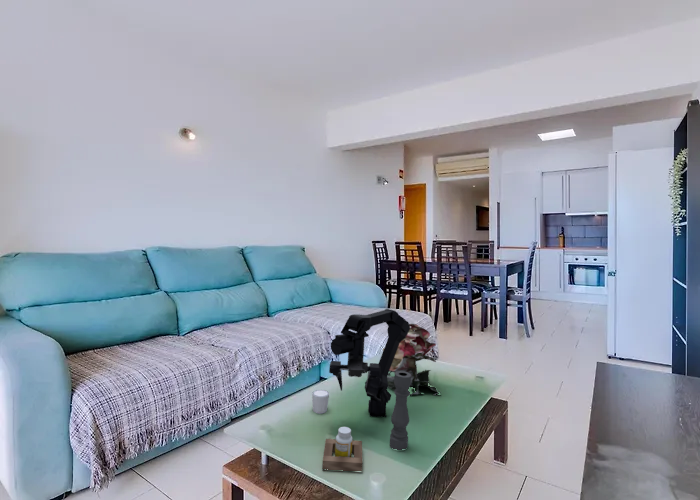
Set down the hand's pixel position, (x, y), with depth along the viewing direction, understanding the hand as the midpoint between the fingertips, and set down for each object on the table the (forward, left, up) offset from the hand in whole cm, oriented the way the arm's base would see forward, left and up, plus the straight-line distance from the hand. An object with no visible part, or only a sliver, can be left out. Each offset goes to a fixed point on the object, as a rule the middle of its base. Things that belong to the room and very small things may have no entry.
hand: (353, 390), depth 142 cm
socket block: (+3, +22, -13) cm, 25 cm away
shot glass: (+13, -10, -13) cm, 21 cm away
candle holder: (-16, +12, -13) cm, 24 cm away
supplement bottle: (+3, +21, -13) cm, 25 cm away
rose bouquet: (-25, -39, -13) cm, 48 cm away
